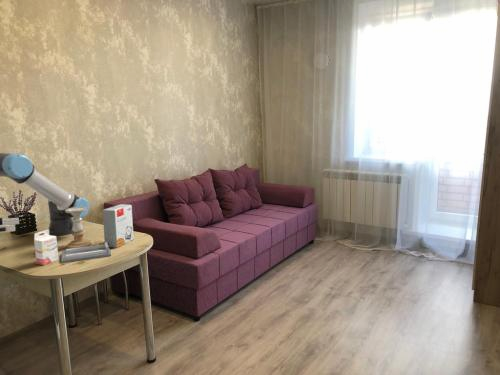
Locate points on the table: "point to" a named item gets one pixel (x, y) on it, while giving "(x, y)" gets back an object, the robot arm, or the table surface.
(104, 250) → the rail cradle
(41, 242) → the ink cartridge box
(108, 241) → the hard drive box
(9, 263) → the table surface
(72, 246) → the candle holder
